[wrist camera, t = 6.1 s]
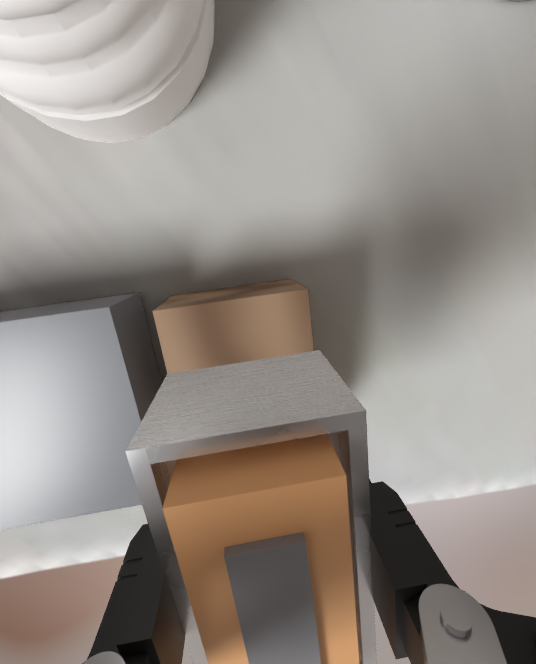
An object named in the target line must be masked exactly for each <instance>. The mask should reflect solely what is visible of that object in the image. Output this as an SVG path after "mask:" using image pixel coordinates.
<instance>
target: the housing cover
mask: <svg viewBox="0 0 536 664" xmlns="http://www.w3.org/2000/svg"><path fill="white" fill-rule="evenodd" d="M162 509H163V512H164V516H165V519H166V522H167V526H168V529H169V533H170V536H171V539H172V543H173V546H174V550H175V553H176V556H177V560H178V563H179V567H180V570H181V573H182V577H183V580H184V583H185V587H186V590H187V594H188V597H189V600H190V604H191V607H192V611H193V614H194V617H195V621H196V624H197V628H198V631H199V634H200V638H201V641H202V645H203V648H204V651H205V655H206V658H207V661H208V664H359V652H358V638H357V623H356V609H355V594H354V580H353V566H352V551H351V537H350V523H349V508H348V494H347V480H346V474H345V472H344V469H343V467H342V465H341V463H340V461H339V459H338V457H337V454H336V452H335V450H334V448H333V446H332V444H331V442H330V439H329V437H328V435H327V434H322V435H316V436H310V437H304V438H299V439H293V440H287V441H281V442H276V443H270V444H264V445H258V446H253V447H247V448H241V449H235V450H229V451H224V452H218V453H212V454H206V455H201V456H195V457H189V458H183V459H178V460H176V463H175V466H174V470H173V473H172V477H171V480H170V484H169V487H168V491H167V494H166V498H165V501H164V505H163V508H162Z"/></svg>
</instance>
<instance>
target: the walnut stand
mask: <svg viewBox="0 0 536 664" xmlns="http://www.w3.org/2000/svg"><path fill="white" fill-rule="evenodd" d="M153 316H154V320H155V324H156V328H157V332H158V337H159V341H160V345H161V349H162V354H163V358H164V362H165V366H166V370H167V374H171V373H177V372H184V371H190V370H196V369H203V368H209V367H215V366H221V365H228V364H234V363H240V362H247V361H253V360H259V359H266V358H272V357H278V356H285V355H291V354H297V353H304V352H310V351H314V349H313V338H312V326H311V315H310V303H309V292H308V289H307V288H306V287H304V286H302V285H301V284H299V283H297V282H295V281H294V280H292V279H288V280H281V281H273V282H266V283H259V284H252V285H245V286H237V287H230V288H223V289H216V290H209V291H201V292H194V293H187V294H180V295H173V296H171V297H170V298H168V299H167V300H166V301H165V302H163V303H162V304H161V305H159V306H158V307H157V308H156V309H154V310H153Z"/></svg>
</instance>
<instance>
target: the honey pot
mask: <svg viewBox="0 0 536 664" xmlns="http://www.w3.org/2000/svg"><path fill="white" fill-rule="evenodd" d="M214 10H215V2H214V0H0V95H2V96H3V97H5V98H6V99H8V100H9V101H10V102H12V103H14V104H15V105H17V106H18V107H20V108H21V109H23V110H24V111H26V112H28V113H29V114H31V115H32V116H34V117H35V118H37V119H38V120H40V121H41V122H43V123H45V124H46V125H48V126H49V127H51V128H54V129H56V130H59V131H62V132H64V133H67V134H69V135H72V136H74V137H77V138H79V139H83V140H91V141H100V142H108V143H116V142H122V141H128V140H133V139H139V138H143V137H145V136H147V135H149V134H151V133H153V132H155V131H157V130H159V129H161V128H163V127H164V126H166V125H168V124H169V123H170V122H171V121H172V120H173V119H174V118H175V117H176V116H177V115H178V114H179V113H180V112H181V111H182V110H183V109H184V108H185V107H186V106H187V105H188V104H189V103H190V101H191V100H192V98H193V96H194V94H195V92H196V91H197V89H198V87H199V85H200V84H201V82H202V80H203V78H204V76H205V73H206V69H207V66H208V62H209V58H210V54H211V50H212V46H213V43H214Z"/></svg>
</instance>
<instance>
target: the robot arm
mask: <svg viewBox="0 0 536 664" xmlns="http://www.w3.org/2000/svg"><path fill="white" fill-rule="evenodd" d="M512 1H526V0H512ZM369 493H370V516H371V533H369V534H370V556H371V578H372V597H373V600H374V602H375V605H376V607H377V610H378V613H379V615H380V618H381V621H382V623H383V626H384V629H385V631H386V634H387V637H388V639H389V642H390V645H391V647H392V650H393V652H394V655H395V658H396V659H400V658H404V657H409V660H410V662H411V664H536V618H535V617H530V616H524V615H518V614H513V613H507V612H501V611H497V610H494V609H491V608H488V607H486V606H484V605H482V604H480V603H478V602H477V601H476V600H475V599H474V598H473V597H472V596H470V595H469V594H468V593H466V592H465V591H463V590H461V589H460V588H459V587H458V586H457V585H456V584H455V583H454V581H453V580H452V578H451V577H450V575H449V574H448V573H447V571H446V569H445V568H444V566H443V564H442V563H441V561H440V560H439V558H438V557H437V555H436V553H435V552H434V550H433V549H432V547H431V546H430V544H429V542H428V541H427V539H426V538H425V536H424V535H423V533H422V531H421V530H420V528H419V527H418V525H416V523H415V520H414V519H413V517H412V516H411V514H410V513H409V511H407V508H406V506H405V505H404V503H403V502H402V500H401V498H400V497H399V495H398V494H397V493H396V492H395V491H394V490H393V489H391V488H390V487H389V486H388V485H386V484H385V483H384V482H383V481H382V482H377V483H371V481H370V479H369ZM123 562H124V563H123V565H122V566H121V569H120V572H119V575H118V580H117V582H116V583H115V586H114V589H113V592H112V594H111V597H110V600H109V602H108V606H107V608H106V611H105V613H104V616H103V619H102V622H101V624H100V627H99V630H98V633H97V636H96V638H95V641H94V644H93V647H92V649H91V652H90V654H89V656H88V658H87V660H86V661H85V662H83V663H82V664H181V663H182V657H183V649H184V641H185V632H184V629H183V625H182V622H181V619H180V616H179V613H178V610H177V606H176V603H175V600H174V597H173V594H172V591H171V587H170V584H169V581H168V578H167V575H166V573H164V572H163V568H162V565H161V562H160V559H159V556H158V553H157V550H156V546H155V543H154V540H153V537H152V534H151V531H150V528H149V524H145V525H142V527H141V528H140V529H139V531H138V532H137V534H136V535H135V536H134V538H133V539H132V540H131V542H130V544H129V547H128V550H127V552H126V555H125V558H124V561H123Z"/></svg>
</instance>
